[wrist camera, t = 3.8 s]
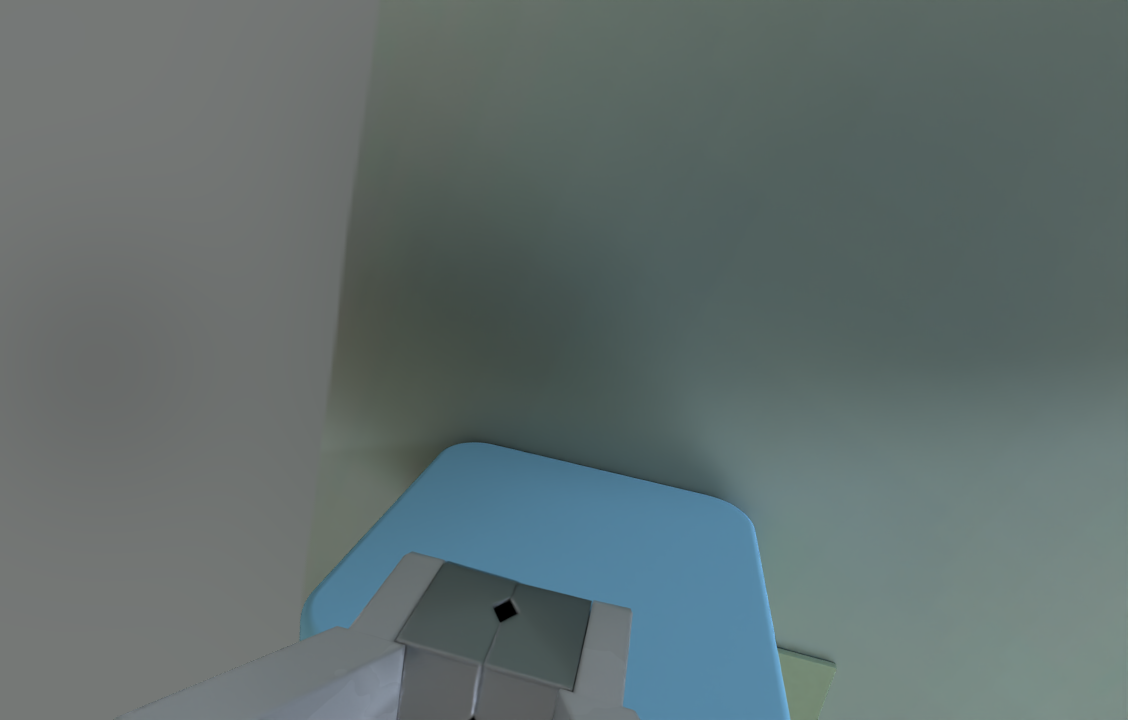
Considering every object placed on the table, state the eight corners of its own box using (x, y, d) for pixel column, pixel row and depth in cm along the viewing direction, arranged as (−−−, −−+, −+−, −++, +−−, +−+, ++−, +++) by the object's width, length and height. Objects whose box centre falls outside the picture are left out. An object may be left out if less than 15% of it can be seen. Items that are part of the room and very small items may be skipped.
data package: (443, 528, 27) (265, 778, 16) (454, 432, 26) (270, 630, 14) (724, 601, 25) (752, 937, 14) (752, 503, 24) (807, 788, 13)
